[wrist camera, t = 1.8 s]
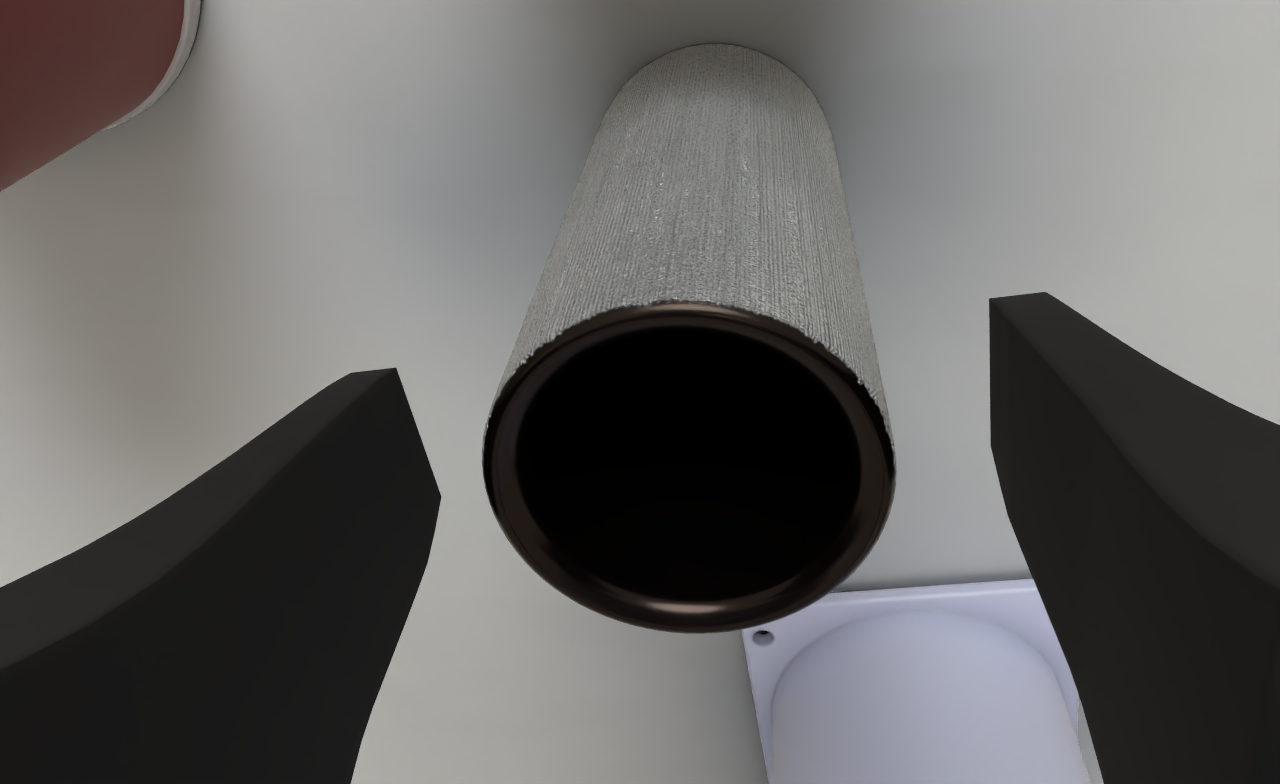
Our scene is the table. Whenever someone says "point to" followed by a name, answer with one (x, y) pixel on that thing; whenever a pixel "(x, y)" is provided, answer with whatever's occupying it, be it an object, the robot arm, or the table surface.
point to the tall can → (82, 70)
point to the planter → (697, 363)
